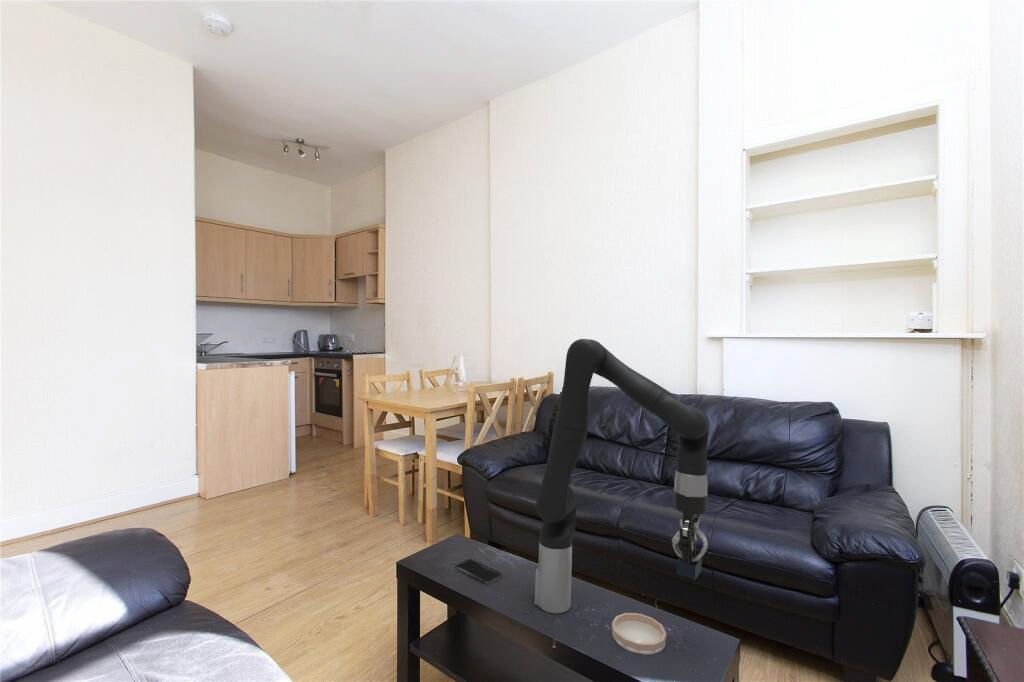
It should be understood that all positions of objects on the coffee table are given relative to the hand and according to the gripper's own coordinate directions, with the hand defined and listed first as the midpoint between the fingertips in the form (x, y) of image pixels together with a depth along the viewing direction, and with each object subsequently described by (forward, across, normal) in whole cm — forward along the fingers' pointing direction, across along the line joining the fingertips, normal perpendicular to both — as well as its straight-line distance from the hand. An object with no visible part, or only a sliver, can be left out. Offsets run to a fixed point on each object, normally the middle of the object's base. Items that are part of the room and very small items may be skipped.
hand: (688, 561), depth 109 cm
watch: (+3, 0, 0) cm, 3 cm away
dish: (+21, +2, -11) cm, 24 cm away
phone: (+22, -2, -63) cm, 67 cm away
